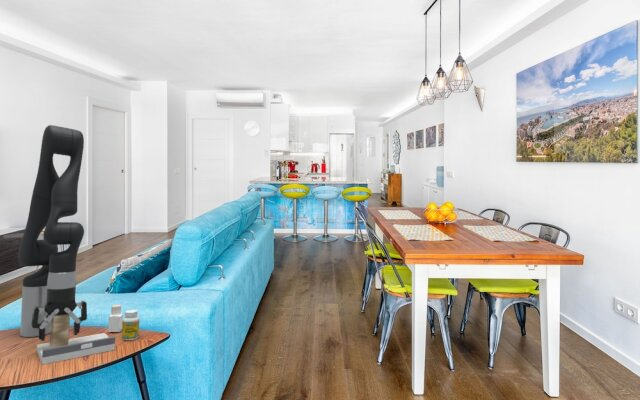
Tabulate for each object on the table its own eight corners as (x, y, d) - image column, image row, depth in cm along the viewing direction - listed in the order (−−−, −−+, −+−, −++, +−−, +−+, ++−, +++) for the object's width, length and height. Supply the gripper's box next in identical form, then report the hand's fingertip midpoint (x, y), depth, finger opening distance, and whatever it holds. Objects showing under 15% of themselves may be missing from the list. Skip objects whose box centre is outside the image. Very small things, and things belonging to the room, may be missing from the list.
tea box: (52, 350, 116) (54, 317, 116) (49, 344, 120) (51, 312, 120) (68, 347, 119) (70, 314, 119) (65, 341, 123) (66, 310, 123)
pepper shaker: (120, 332, 139) (121, 306, 139) (107, 333, 138) (109, 307, 138) (122, 329, 143) (123, 304, 143) (110, 330, 142) (111, 304, 142)
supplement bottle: (137, 335, 137) (138, 308, 137) (139, 339, 133) (141, 312, 133) (120, 337, 134) (122, 310, 135) (122, 342, 130) (123, 314, 130)
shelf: (36, 351, 120) (37, 338, 120) (104, 338, 133) (104, 327, 133) (42, 364, 110) (43, 350, 110) (114, 350, 123) (115, 337, 123)
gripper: (85, 281, 127) (82, 330, 127) (32, 286, 118) (29, 338, 117) (90, 285, 122) (88, 336, 122) (35, 290, 112) (32, 345, 112)
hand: (59, 337), depth 119 cm, fingers open, 8 cm apart
